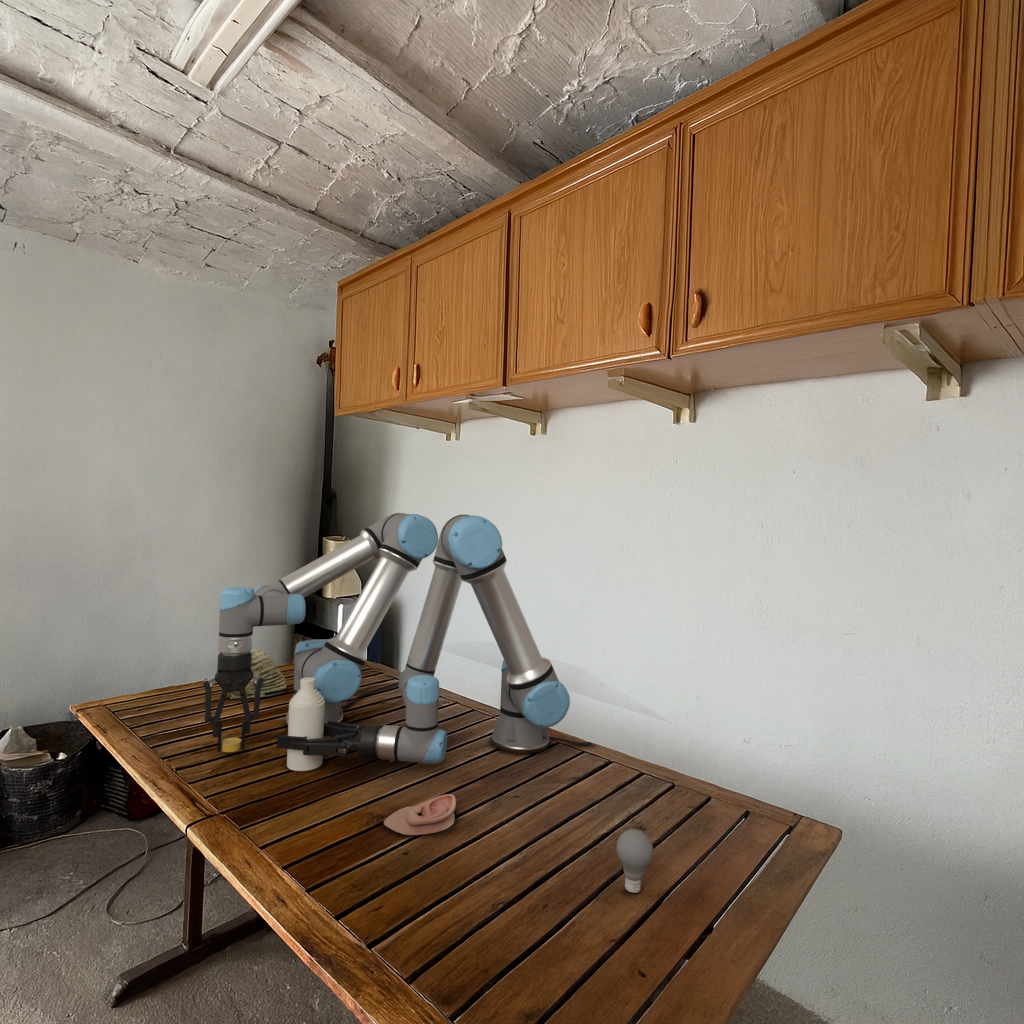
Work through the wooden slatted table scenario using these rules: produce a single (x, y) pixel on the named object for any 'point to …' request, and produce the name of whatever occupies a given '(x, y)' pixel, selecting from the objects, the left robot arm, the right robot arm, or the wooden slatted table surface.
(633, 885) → the light bulb
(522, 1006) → the wooden slatted table surface
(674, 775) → the wooden slatted table surface
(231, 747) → the cap
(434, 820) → the anatomical model
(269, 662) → the fossil
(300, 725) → the bottle
